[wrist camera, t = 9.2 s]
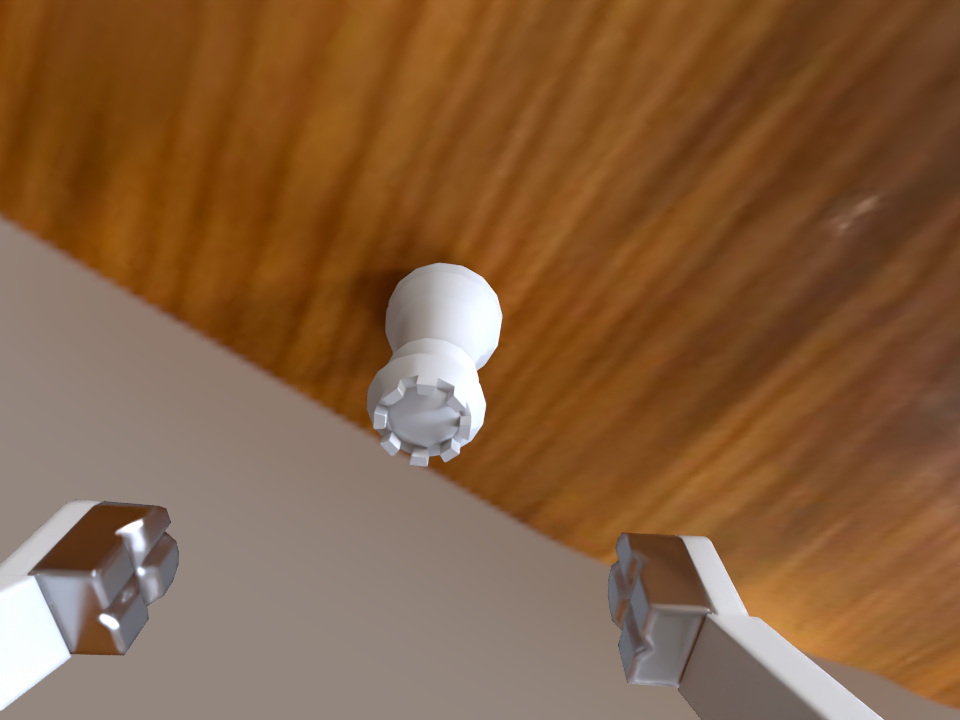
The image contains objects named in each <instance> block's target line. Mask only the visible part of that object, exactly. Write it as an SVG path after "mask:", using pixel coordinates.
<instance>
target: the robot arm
mask: <svg viewBox="0 0 960 720" xmlns="http://www.w3.org/2000/svg"><path fill="white" fill-rule="evenodd" d="M170 523H171V521H170V518H169V515H168V512H167V509H166V508H163V507H160V506H154V505H142V504H130V503H117V502H106V501H104V502H98V501H87V500H73V501H71V502H68V503H66V504H64V505H63V506H62V507H61V508H60V509H58V510H57V511H56V512H55V513H54V514H53V515H52V516H51V517H50V518H49V519H48V520H47V521H46V522H45V523H44V524H43V525H42V526H41V527H40V528H38V529H37V530H36V531H35V532H34V533H33V534H32V535H31V536H30V537H29V538H28V539H27V540H26V541H25V542H24V543H23V544H22V545H20V546H19V547H18V548H17V549H16V550H15V551H14V552H13V553H12V554H11V555H10V556H9V557H8V558H7V559H6V560H5V561H3V562H2V563H1V564H0V711H1V710H3V709H4V708H5V707H7V706H8V705H9V704H11V703H12V702H13V701H15V700H16V699H17V698H18V697H20V696H21V695H22V694H24V693H25V692H26V691H28V690H29V689H30V688H31V687H33V686H34V685H35V684H36V683H38V682H39V681H40V680H42V679H43V678H44V677H46V676H47V675H48V674H50V673H51V672H52V671H54V670H55V669H56V668H58V667H59V666H60V665H62V664H63V663H64V662H65V661H67V660H68V659H69V658H71V655H70V654H89V655H125V654H126V652H127V650H128V649H129V648H130V646H131V645H132V643H133V642H134V640H135V639H136V637H137V636H138V634H139V633H140V631H141V630H142V628H143V627H144V625H145V623H146V622H147V620H148V619H149V618H148V609H147V606H149V605H150V604H152V603H153V602H155V601H156V600H158V599H159V598H161V597H163V596H164V594H165V593H166V591H167V589H168V588H169V586H170V585H171V583H172V582H173V579H174V576H175V573H176V570H177V567H178V558H179V551H178V547H177V543H176V541H175V540H174V539H173V538H172V537H171V536H170V535H169V534H167V533H166V532H165V530H166V529H167V527H168V526H169V524H170ZM616 551H617V555H618V559H619V560H618V561H617V562H616V563H615V564H613V565H612V566H611V570H610V575H609V579H608V580H609V581H608V599H609V607H610V612H611V616H612V621H613V622H614V623H615V624H616V625H617V626H618V627H619V628H620V629H621V630H622V632H621V636H620V640H619V644H618V647H619V651H620V655H621V659H622V663H623V667H624V671H625V675H626V679H627V683H636V684H646V685H659V686H670V687H679V688H678V691H679V692H680V693H681V695H682V696H683V697H684V698H685V700H686V701H687V702H688V703H689V705H690V706H691V707H692V708H693V710H694V711H695V712H696V713H697V715H698V716H699V717H700V718H701V720H883V719H882V718H881V717H880V716H878V715H877V714H876V713H875V712H874V711H872V710H871V709H870V708H869V707H867V706H866V705H865V704H864V703H863V702H861V701H860V700H859V699H858V698H856V697H855V696H854V695H853V694H852V693H850V692H849V691H848V690H847V689H845V688H844V687H843V686H842V685H841V684H839V683H838V682H837V681H836V680H834V679H833V678H832V677H831V676H829V675H828V674H827V673H826V672H825V671H823V670H822V669H821V668H820V667H819V666H817V665H816V664H815V663H814V662H812V661H811V660H810V659H809V658H808V657H806V656H805V655H804V654H803V653H801V652H800V651H799V650H798V649H797V648H795V647H794V646H793V645H792V644H790V643H789V642H788V641H787V640H786V639H784V638H783V637H782V636H781V635H779V634H778V633H777V632H776V631H775V630H773V629H772V628H771V627H770V626H768V625H767V624H766V623H765V622H764V621H762V620H761V619H760V618H759V617H749V615H748V613H747V611H746V609H745V607H744V605H743V603H742V601H741V599H740V597H739V595H738V593H737V591H736V589H735V587H734V585H733V583H732V582H731V580H730V578H729V576H728V574H727V572H726V570H725V568H724V566H723V564H722V562H721V560H720V558H719V556H718V554H717V552H716V550H715V548H714V546H713V544H712V542H711V541H710V540H709V539H708V538H707V537H702V536H681V535H678V536H675V535H658V534H638V533H621V535H620V536H619V538H618V541H617V545H616Z"/></svg>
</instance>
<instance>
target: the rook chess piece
mask: <svg viewBox="0 0 960 720" xmlns="http://www.w3.org/2000/svg"><path fill="white" fill-rule="evenodd" d="M501 321H502V313H501V309H500V306H499V302H498V298H497V295H496V294H495V292H494V291H493V290H492V289H491V287H490V286H489V285H488V283H487V282H486V281H485V280H484V278H483V277H481V276H479V275H478V274H476V273H474V272H472V271H471V270H469V269H467V268H465V267H464V266H460V265H452V264H445V263H436V264H432V265H428V266H424V267H420V268H417V269H415V270H414V271H413V272H411V273H410V274H409V275H407V276H406V277H405V278H404V279H402V280H401V281H400V282H399V283H398V285H397V287H396V288H395V290H394V292H393V294H392V296H391V298H390V300H389V305H388V308H387V310H386V325H385V332H386V336H387V338H388V341H389V344H390V346H391V349H392V352H393V355H392V357H391V359H390V361H389V362H388V364H387V365H386V366H385V367H384V368H382V369H381V370H379V371H378V372H377V374H376V376H375V378H374V379H373V381H372V383H371V385H370V387H369V388H368V395H367V411H368V414H369V416H370V419H371V421H372V423H373V426H374V428H373V429H375V430H376V431H377V432H378V433H379V434H380V435H381V436H382V439H381V442H380V445H381V446H382V447H383V448H384V449H385V450H386V451H387V452H388V453H389V454H390V455H391V456H393V455H394V454H395V453H396V452H397V451H398V450H399V449H402V450H404V451H406V452H408V453H410V454H411V457H410V462H409V464H410V465H419V466H427V465H428V460H429V456H435V455H440V456H441V457H442V459H443V461H444V462H447V461H449V460H450V459H452V458H453V457H455V456H457V455H458V454H459V453H460V447H462V446H464V445H465V444H467V443H468V442H470V441H471V440H472V439H473V438H474V436H475V435H476V433H477V432H478V430H479V429H480V428H481V426H482V425H483V420H484V414H485V408H486V403H485V399H484V396H483V393H482V389H481V386H480V384H479V383H478V381H479V378H478V375H477V370H478V369H480V368H481V367H483V366H484V365H485V364H486V362H487V361H488V359H489V358H490V356H491V355H492V353H493V352H494V350H495V349H496V347H497V345H498V340H499V334H500V327H501Z"/></svg>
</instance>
